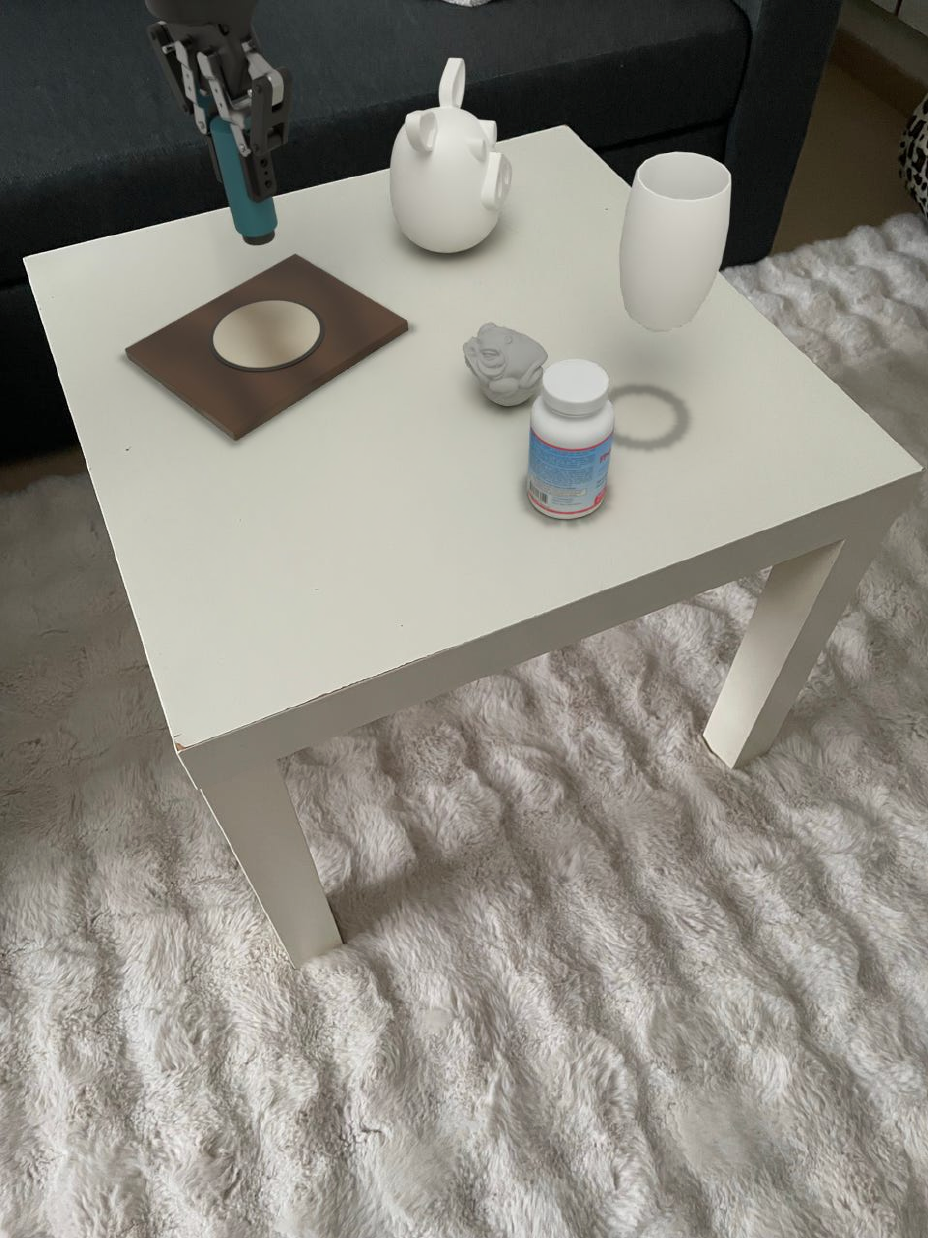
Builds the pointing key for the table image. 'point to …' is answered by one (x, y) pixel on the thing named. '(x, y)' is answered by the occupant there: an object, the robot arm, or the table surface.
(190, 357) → the wooden board with hole
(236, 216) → the teal cylinder
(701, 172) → the cup
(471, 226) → the piggy bank
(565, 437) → the pill bottle
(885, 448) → the table surface
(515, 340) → the grey sculpted head figurine
